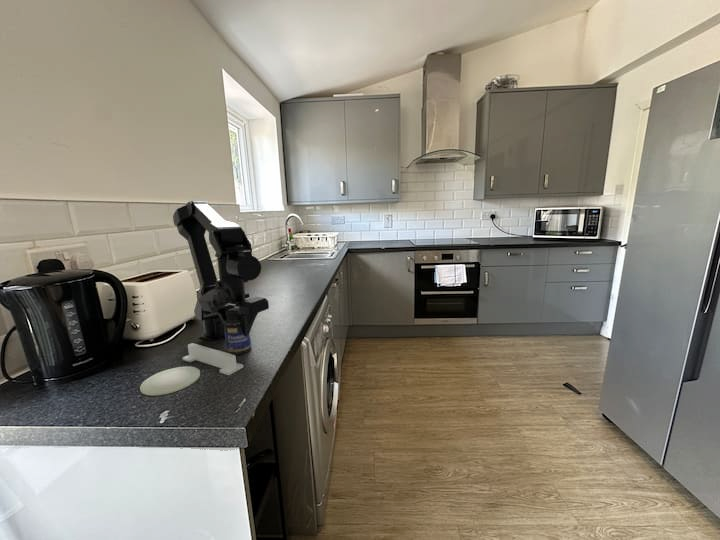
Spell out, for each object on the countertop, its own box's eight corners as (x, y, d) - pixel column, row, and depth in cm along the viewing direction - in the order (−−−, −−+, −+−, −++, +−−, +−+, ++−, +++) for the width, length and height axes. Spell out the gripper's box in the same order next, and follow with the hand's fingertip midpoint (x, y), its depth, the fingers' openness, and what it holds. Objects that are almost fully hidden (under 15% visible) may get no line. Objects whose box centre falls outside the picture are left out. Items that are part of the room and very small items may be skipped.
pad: (129, 387, 62) (129, 385, 62) (181, 364, 72) (181, 362, 72) (159, 401, 57) (158, 399, 57) (210, 374, 67) (210, 372, 67)
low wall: (182, 359, 74) (180, 346, 73) (197, 353, 78) (196, 340, 77) (228, 375, 66) (227, 360, 65) (243, 367, 70) (241, 353, 69)
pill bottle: (227, 357, 75) (222, 315, 73) (225, 348, 80) (221, 309, 78) (253, 351, 77) (249, 311, 75) (250, 343, 83) (246, 305, 81)
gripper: (177, 279, 73) (186, 339, 75) (229, 285, 64) (236, 353, 67) (218, 271, 82) (224, 324, 85) (267, 275, 73) (272, 335, 76)
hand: (237, 333), depth 78 cm, fingers closed on pill bottle, 6 cm apart
